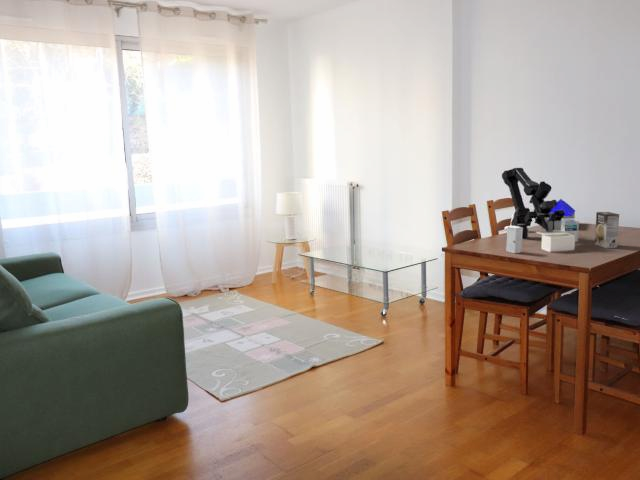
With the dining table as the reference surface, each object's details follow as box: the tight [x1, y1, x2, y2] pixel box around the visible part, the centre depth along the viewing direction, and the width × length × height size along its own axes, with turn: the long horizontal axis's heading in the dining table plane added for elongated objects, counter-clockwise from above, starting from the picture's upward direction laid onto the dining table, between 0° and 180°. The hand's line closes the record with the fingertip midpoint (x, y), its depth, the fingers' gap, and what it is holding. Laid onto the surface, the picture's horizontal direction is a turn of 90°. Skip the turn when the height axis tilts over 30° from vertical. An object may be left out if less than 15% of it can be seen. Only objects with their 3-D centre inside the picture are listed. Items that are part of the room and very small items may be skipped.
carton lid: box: [535, 221, 570, 236], centre depth 273 cm, size 8×12×5 cm
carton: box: [540, 234, 576, 253], centre depth 269 cm, size 8×12×7 cm, turn 98°
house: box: [541, 198, 576, 231], centre depth 335 cm, size 25×16×16 cm, turn 152°
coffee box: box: [594, 211, 620, 249], centre depth 273 cm, size 9×6×16 cm
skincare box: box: [505, 225, 523, 254], centre depth 267 cm, size 6×4×12 cm
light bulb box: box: [560, 218, 580, 243], centre depth 291 cm, size 11×7×11 cm, turn 168°
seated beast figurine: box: [504, 210, 515, 231], centre depth 324 cm, size 10×9×12 cm
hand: (550, 229), depth 274 cm, fingers closed on carton lid, 2 cm apart
